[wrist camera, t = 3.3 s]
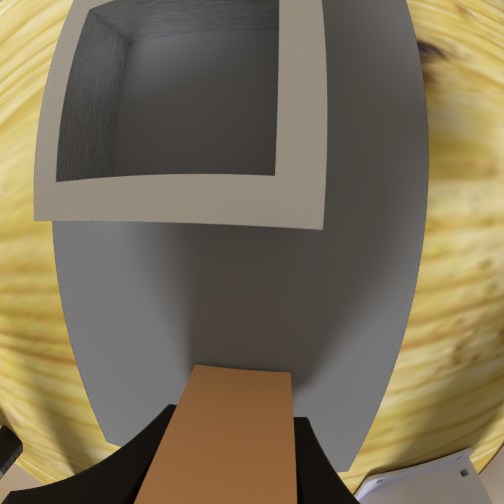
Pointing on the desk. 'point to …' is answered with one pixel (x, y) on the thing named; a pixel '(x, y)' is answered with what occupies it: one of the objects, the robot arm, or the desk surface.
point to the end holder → (178, 185)
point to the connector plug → (227, 442)
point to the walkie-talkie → (8, 449)
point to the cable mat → (257, 231)
